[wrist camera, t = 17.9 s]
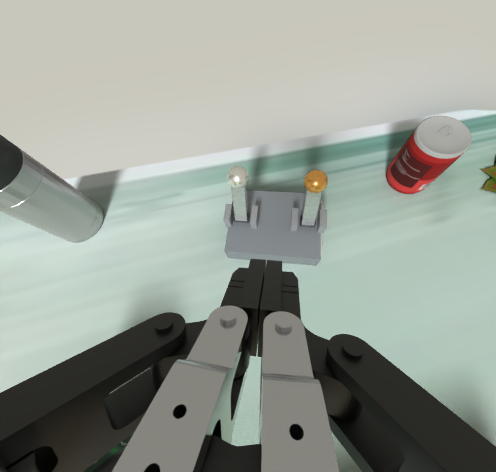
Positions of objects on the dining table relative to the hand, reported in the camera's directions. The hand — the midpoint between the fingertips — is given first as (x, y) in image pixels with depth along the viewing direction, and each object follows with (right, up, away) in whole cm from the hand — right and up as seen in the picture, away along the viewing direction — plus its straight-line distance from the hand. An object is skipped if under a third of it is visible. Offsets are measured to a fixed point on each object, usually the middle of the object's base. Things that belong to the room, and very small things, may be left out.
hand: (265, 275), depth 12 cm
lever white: (-2, +5, +29) cm, 30 cm away
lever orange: (+9, +4, +28) cm, 29 cm away
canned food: (+30, +13, +35) cm, 48 cm away
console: (+4, +3, +33) cm, 33 cm away
